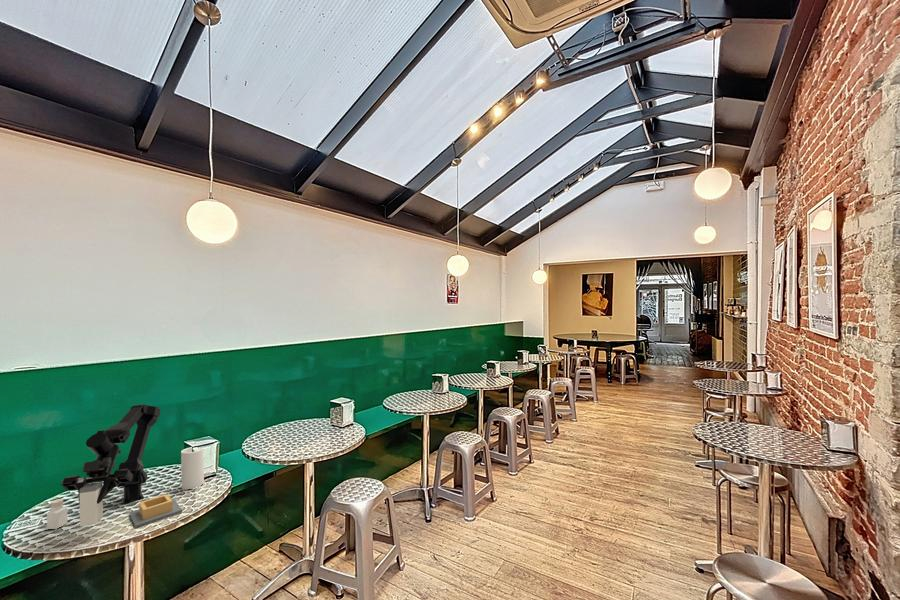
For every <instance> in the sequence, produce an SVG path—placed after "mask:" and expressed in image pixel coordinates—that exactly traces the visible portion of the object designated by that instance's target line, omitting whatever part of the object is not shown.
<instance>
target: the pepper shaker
mask: <svg viewBox="0 0 900 600" xmlns="http://www.w3.org/2000/svg"><path fill="white" fill-rule="evenodd" d="M66 523H67V524H68V507H66V506H64V499H63V498H58V499H55V500H52V501H50V510H49V511H48V512H47V513H46V529H47V530H48V529H55V530H57V529H56V528H59V527H61V526H63V525H64V524H66ZM67 524H66V525H67ZM64 526H65V525H64ZM64 526H63V527H64ZM61 528H62V527H61ZM59 529H60V528H59Z"/></svg>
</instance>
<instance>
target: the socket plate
mask: <svg viewBox="0 0 900 600" xmlns="http://www.w3.org/2000/svg"><path fill="white" fill-rule="evenodd" d="M181 513H183V508H182V507H181V506H180V505H179V503H178V502H177V501H176V499H175V498H171V497H170V496H169V495H168V493H166V494H163V495H159V496H156V497H153V498H150V499H146V500H142V501H140V502H139V503H138V509H135V510H132V511H129V513H128V514H129V517H130V520H131V519H132V520H131V522H132V524H133V525H134V529H138V528H141V527H143V526H147V525H150V524H152V523H155V522H158V521H162V520H164V519H167V518H170V517H173V516H177V515H179V514H181Z"/></svg>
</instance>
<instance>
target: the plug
mask: <svg viewBox="0 0 900 600" xmlns="http://www.w3.org/2000/svg"><path fill="white" fill-rule="evenodd" d="M102 487H103V482H96V483H89V484H86V485H85V486H84V487H82V488H81V489H80V506H79V527H80V528H81V527H85V526H92V525H96V524H98V523H99V522H100V521H102V519H103V518H104V502H103V501H104V499H103V500H102V501H101V502H100V503H99V504H97V499H98V496H99V494H100V492H101V489H102Z"/></svg>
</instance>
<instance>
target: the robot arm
mask: <svg viewBox="0 0 900 600" xmlns="http://www.w3.org/2000/svg"><path fill="white" fill-rule="evenodd" d="M161 412H162V411H161V408H159V407H158V406H155V405H154V406H151V405H148V404H142V403H141V404H134V405H132V406H130V410H129V411H128V412H127V413H126V414H125V415H124V416H123V417H122V418H121V420H119V422H117V423H116V424H114V425H111V426H110V427H108V428H106V430H97V432H96V433H94V434H93V435H91V436H90V437H89V438H87V439H86V441H85V445H86V447H87V448H88V449H89V450H90V451H91V452H92V453H93V454H94V455H97V456H96V458H95V460H93V461H92V460H91V461H87V462H86V461H85V462H84V463H83V468H82V471H81V472H82V473H85V475H86V476H88V477H81V476H80V475H79V474H77V475H69V476H66V477H64V478H63V479H62V481H61V483H60V486H61V487H63V488H64V489H65V491H69V492H71V491H72V492H73V491H77V492H78V505H79V507H80V489H81V488H82V487H84V486H85V485H86V484H90V483H97V482H103V487H102V489H101V492H100V494H99V496H98V499H97V504H99V503H100V502H101V501H102V500H103V501H104V499H105V498H106V497H107V496H108V494H110V492H112V491H113V489H114V488H116V487H117V488H123V496H122V498H121V502H122V504H128V503H131V502H134V501H135V502H136V501H138V500H141V499H144V498H145V496H144V494H143V492H142V485H143V484H145V483H147V480H148V474H147V472H146V471H145V467H144V464H143V461H142V459H143V457H144V456H143V455H144V451H145V448H146V445H147V441H148V438H149V435H150V431H151V427H153V426H154V425H155V424H156V423H157V422H158V419H159V417H160V415H161ZM135 425H136V430H135V433H134V436H133V439H132V441H131V446H130V449H129V452H128V454H127V458H126V460H125V461H124V462H120V464H119V465H118V469H116V470H114V472H113V474H112V471H113V469H115V468H116V464H115V463H116V459H117V457H118V454H121V453H122V450H121V448H120V446H118V444H125V443H126V442H127V441H128V440H129V438H130V436H131V432H130V431H131V429H132V428H133V427H134V426H135Z"/></svg>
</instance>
